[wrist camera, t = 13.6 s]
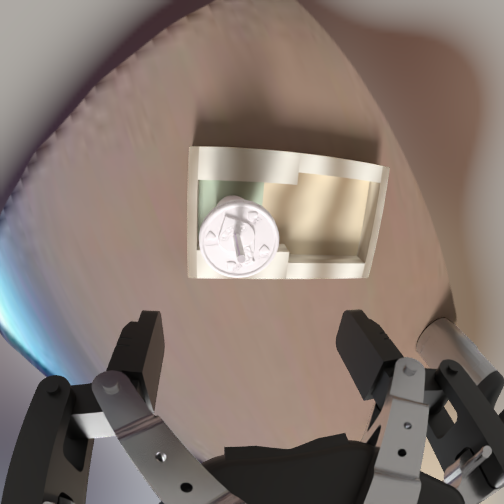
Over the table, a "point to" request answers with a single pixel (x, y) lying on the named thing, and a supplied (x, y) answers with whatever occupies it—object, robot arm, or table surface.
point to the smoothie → (238, 237)
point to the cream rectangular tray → (292, 208)
